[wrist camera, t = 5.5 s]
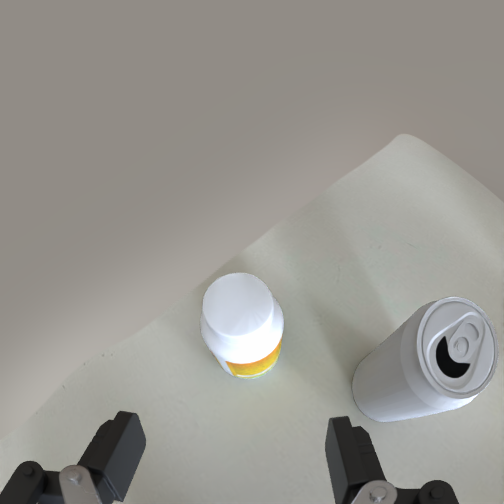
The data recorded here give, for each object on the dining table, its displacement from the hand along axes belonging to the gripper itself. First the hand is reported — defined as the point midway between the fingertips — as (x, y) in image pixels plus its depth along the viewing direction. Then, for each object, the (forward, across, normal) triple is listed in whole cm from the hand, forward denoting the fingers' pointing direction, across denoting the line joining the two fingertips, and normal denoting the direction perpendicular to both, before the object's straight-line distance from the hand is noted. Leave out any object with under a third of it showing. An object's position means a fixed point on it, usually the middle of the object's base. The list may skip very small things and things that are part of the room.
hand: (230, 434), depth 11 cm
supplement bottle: (+14, 0, +4) cm, 14 cm away
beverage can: (+11, -12, +7) cm, 17 cm away
